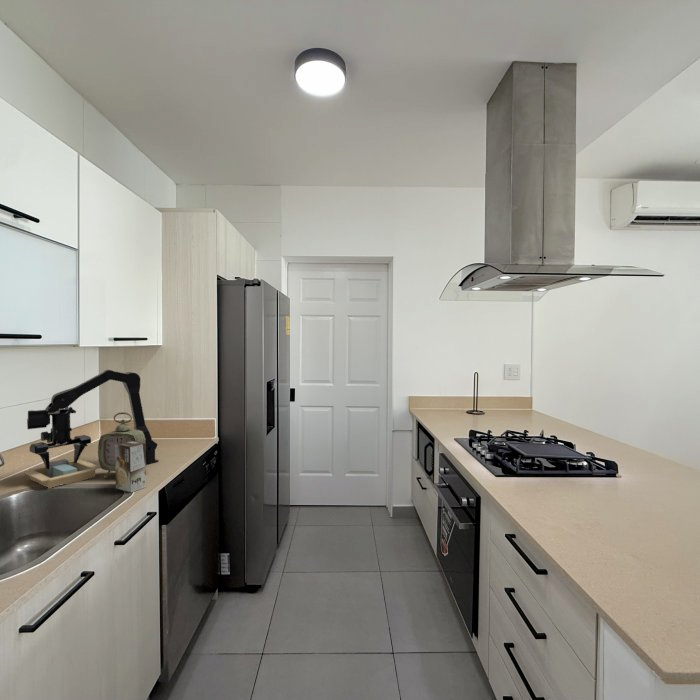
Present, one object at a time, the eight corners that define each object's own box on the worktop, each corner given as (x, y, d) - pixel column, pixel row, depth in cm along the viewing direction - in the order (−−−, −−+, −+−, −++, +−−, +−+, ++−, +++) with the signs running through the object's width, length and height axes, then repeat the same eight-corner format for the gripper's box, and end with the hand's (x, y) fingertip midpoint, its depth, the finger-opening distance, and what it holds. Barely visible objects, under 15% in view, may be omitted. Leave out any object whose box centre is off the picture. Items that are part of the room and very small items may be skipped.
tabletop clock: (98, 480, 153) (97, 414, 152) (111, 472, 162) (110, 410, 161) (137, 479, 153) (136, 414, 153) (148, 472, 162) (147, 410, 162)
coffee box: (147, 487, 146) (147, 442, 145) (130, 493, 140) (130, 446, 140) (131, 482, 150) (130, 439, 150) (114, 488, 144) (113, 443, 144)
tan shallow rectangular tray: (102, 476, 157) (102, 467, 157) (43, 491, 142) (43, 481, 141) (78, 467, 169) (78, 458, 169) (22, 480, 153) (22, 470, 153)
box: (80, 479, 154) (79, 465, 154) (60, 484, 149) (60, 469, 149) (65, 472, 162) (64, 459, 162) (45, 477, 156) (45, 463, 156)
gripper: (79, 419, 168) (79, 456, 168) (23, 427, 152) (24, 468, 153) (91, 422, 161) (92, 461, 162) (35, 431, 146) (35, 474, 146)
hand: (61, 465), depth 156 cm, fingers open, 9 cm apart
